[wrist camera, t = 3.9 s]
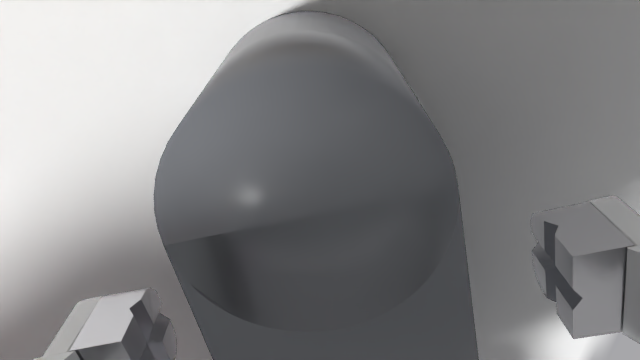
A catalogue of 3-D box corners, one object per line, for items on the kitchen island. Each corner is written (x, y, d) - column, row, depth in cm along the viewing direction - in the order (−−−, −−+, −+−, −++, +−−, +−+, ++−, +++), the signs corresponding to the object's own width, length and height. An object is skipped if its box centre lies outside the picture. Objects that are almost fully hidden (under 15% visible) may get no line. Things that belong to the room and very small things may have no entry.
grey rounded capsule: (386, -11, 10) (439, 29, 6) (451, 402, 15) (504, 581, 11) (188, 37, 10) (103, 107, 6) (317, 424, 15) (320, 605, 11)
